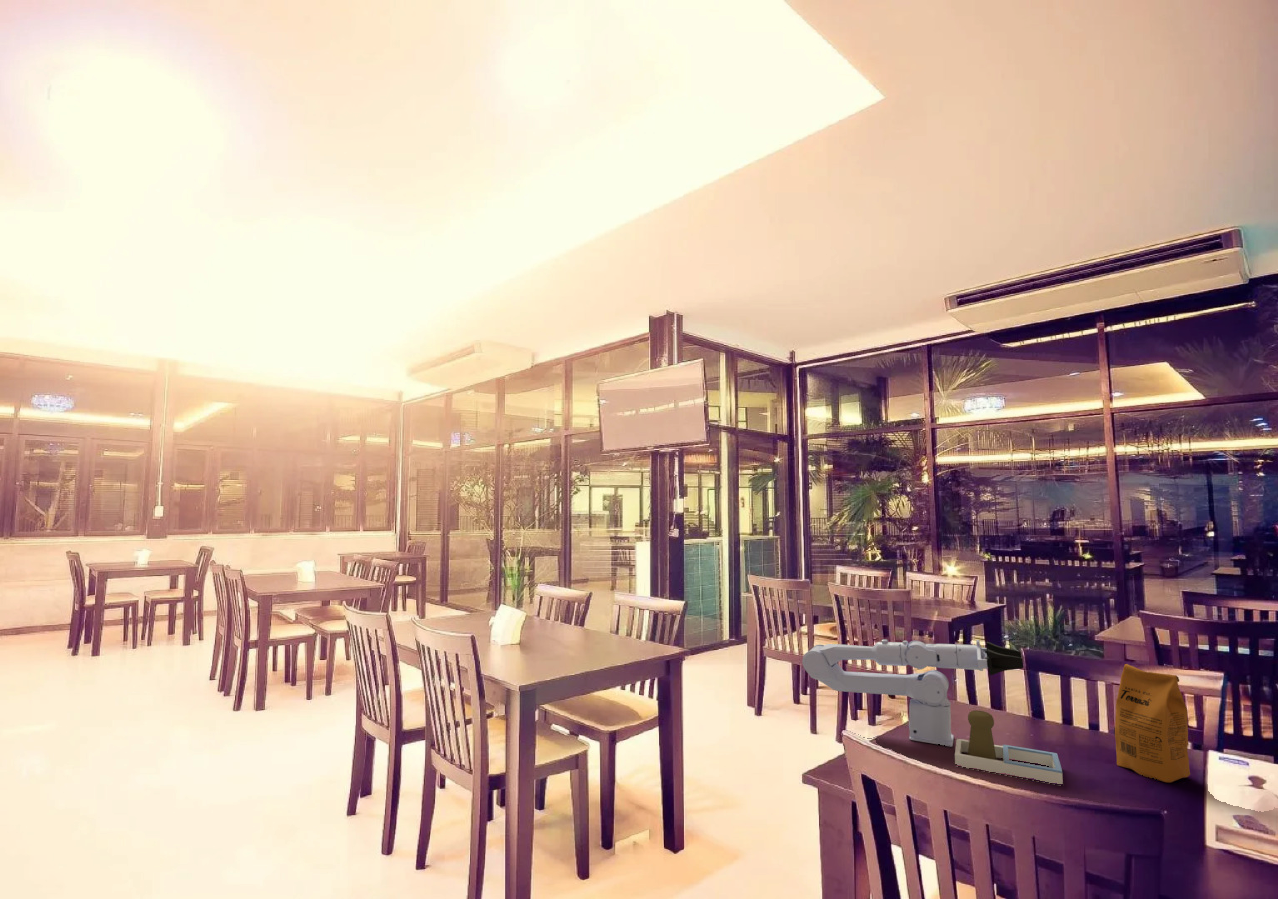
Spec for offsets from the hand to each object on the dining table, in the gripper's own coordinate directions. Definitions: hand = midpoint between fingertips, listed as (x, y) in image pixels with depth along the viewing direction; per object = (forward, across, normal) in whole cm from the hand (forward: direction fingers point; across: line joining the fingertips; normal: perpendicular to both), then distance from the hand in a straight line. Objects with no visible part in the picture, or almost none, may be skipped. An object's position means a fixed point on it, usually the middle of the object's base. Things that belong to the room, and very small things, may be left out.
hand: (1022, 659), depth 151 cm
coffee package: (+22, +3, +24) cm, 32 cm away
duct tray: (-6, -10, +21) cm, 24 cm away
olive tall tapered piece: (-10, -10, +21) cm, 26 cm away
